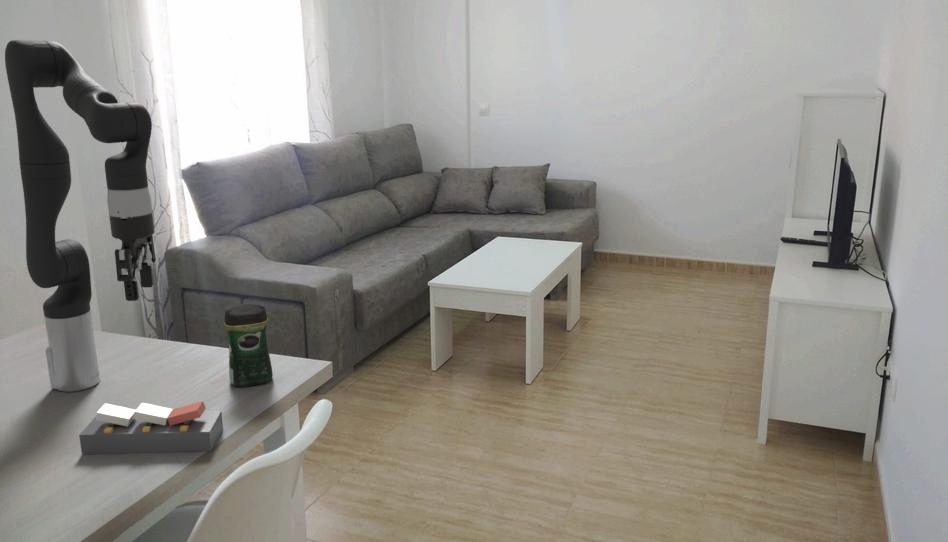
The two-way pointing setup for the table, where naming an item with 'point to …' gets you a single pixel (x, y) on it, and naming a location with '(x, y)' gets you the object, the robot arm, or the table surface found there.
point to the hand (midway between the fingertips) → (140, 293)
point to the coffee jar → (248, 344)
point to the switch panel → (152, 436)
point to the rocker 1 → (115, 414)
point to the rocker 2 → (152, 413)
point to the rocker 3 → (186, 413)
